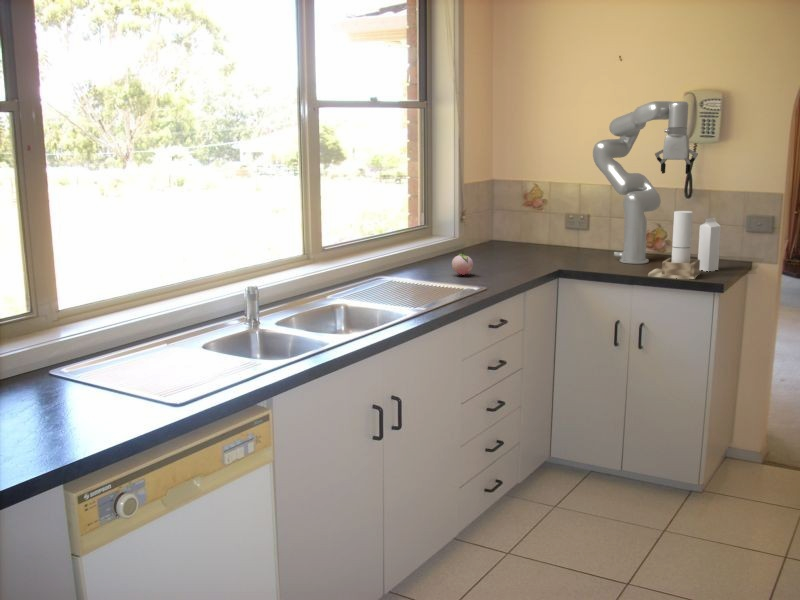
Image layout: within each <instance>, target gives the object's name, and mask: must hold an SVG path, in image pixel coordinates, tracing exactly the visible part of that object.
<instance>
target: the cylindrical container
mask: <svg viewBox="0 0 800 600" xmlns="http://www.w3.org/2000/svg"><path fill="white" fill-rule="evenodd" d="M693 215H694V213H693V211H692V210H675V211H673V225H672V226H673V229H672V244H671V247H672V248H671V249H672V250H671V258H672V262H674V263H688V264H690V259H691V253H692V251H691V250H692V247H691V246H692V233H693V232H692V231H693V230H692V229H693Z"/></svg>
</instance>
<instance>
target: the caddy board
mask: <svg viewBox="0 0 800 600" xmlns="http://www.w3.org/2000/svg"><path fill="white" fill-rule="evenodd" d="M699 267H700V260H698V258H697V259H695V258H690V264H688V263H674V262H672V257H668V258H667V259H665V260H663V261H662V263H661V268H654V269H652V270H651V271H649V272H648V274H647V277H650V278H665V279H676V278H677V279H676V280H678V279H679V280H689V279H694V280H695V279H696V277H697V276H698V275H699V276H700V275H701V271H700V270H699ZM699 276H698V277H699ZM698 277H697V278H698Z"/></svg>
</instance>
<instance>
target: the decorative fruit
mask: <svg viewBox="0 0 800 600" xmlns="http://www.w3.org/2000/svg"><path fill="white" fill-rule="evenodd" d="M451 267H452V268H451V269H452V270H453V271H454V272H455V273H456V274H459V275H460V274H462V275H464V276H466V275H467V274H469V273H470V272H471V271H472V269H473V267H474V261H473V259H472V258H471V257H470V256H468V255H465V254H464V251H463V252H462V253H459V254H458V255H456V256H454V257H453V258H452V261H451ZM465 274H466V275H465ZM462 275H461V276H462Z"/></svg>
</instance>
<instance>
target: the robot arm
mask: <svg viewBox="0 0 800 600" xmlns="http://www.w3.org/2000/svg"><path fill="white" fill-rule="evenodd" d="M688 115H689V102H687V101H683V100H682V101H679V100H678V101H667V100H665V101H664V100H662V101H659V100H658V101H650V102H647V103H644V104H641V105H640V106H637V107H636V108H635V109H634V111H631V112H629V113H626V114H623V115H621V116H617V117H616V118H614V119H612V120H611V122H609V127H608V130H609V132H610V133H611V135H612V136H615V137H619V138H609V139H608V138H607V139H606V138H605V139H602V140H599V141H597V142H596V143H595V144H594V146H593V150H592V158H593V162H594V164H595V166H596V167H597V168H598V170H599V171H600V172H601V173H602V174H603V176H605V178H606V180H607V181H608V182H609V184H610V185H611V187H613V189H614V190H615V192H616V193H618V195H621V196H623V195H624V197H623V201H622V205H623V213H624V214H623V215H624V229H623V230H624V234H623V251H621V252H620V251H614V252H613V256H614V257H620V258H619V262H620V263H623V264H631V265H632V264H633V265H634V264H635V265H643V264H648V263H649V260H650V259H648V258H646V249H647V247H646V246H647V245H646V244H647V230H648V229H647V227H648V225H647V218H646V216H645V214H644V213H646V212H653V211H656V210H657V209H658V208H660V206H661V203H662V202H661V201H662V199H661V197H660V194H659V192H658V190H657V189H656V188H655V187H654V186H653V185H652V183H651V182H650V180H649V179H648V178H647V176H645V175H644V174H642V173H639V172H631V173H630V172H627V170H626V169H624V167H623V165H622V164H620V162H618V161H617V160H615V159H618V158H619V159H620V158H625V157H627V156H628V155H629V154H630V152H631V150H632V148H633V147H634V145H635V142H636V140H637V138H638V136H639V134H640V132H641V130H643V129H644V128H645V127H646V125H647V122H651V121H658V120H660V121H661V120H662V121H663V120H665V121H668V124H667V125H668V126H667V128H665V129H664V133H666V134H667V135H666V134H665V135H664V136H665V137H664V142H663V148H662V149H661V150H659V151H657V152H655V153H654V156H655V158H656V160H657V161H658V162H659V163H660V172H661V174H662V175H663V174H665V173H666V167H667V166H666V165H667V164H666V162H667V160H673V161H675V160H676V161H678V160H681V161H683V160H684V161H685V163H686V164H685V174H686V175H688V174H690V172H691V166H692V165H691V164H693V163H694V162H695V161H696V159H697V157H698V155H699V154H698V152H696V151H694V150H692V149H691V148H690V139H689V138H690V137H689V134H688V122H689V121H688ZM661 154H662V158H661V156H660V155H661ZM690 154H691V155H692V157H691V159H690V158H689V157H690Z"/></svg>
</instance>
